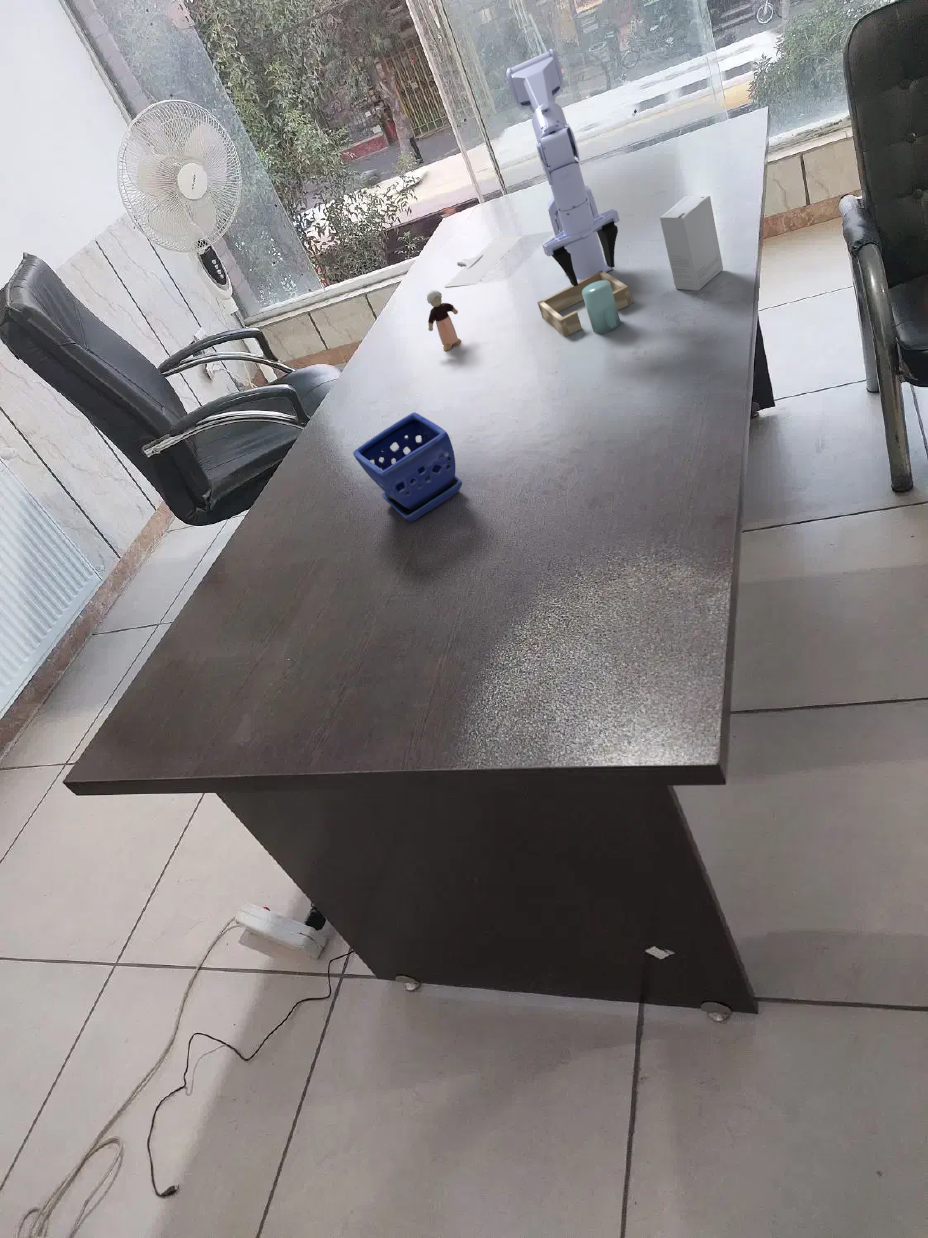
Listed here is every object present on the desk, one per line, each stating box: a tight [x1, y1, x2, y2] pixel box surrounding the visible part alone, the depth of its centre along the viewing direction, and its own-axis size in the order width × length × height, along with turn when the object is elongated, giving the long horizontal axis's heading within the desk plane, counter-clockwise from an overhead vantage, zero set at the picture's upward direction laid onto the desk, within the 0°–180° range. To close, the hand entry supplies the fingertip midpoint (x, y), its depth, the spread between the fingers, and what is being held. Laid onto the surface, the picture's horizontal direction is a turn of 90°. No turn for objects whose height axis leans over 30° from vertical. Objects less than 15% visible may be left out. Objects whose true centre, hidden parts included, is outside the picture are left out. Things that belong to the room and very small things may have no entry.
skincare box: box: [659, 195, 724, 292], centre depth 164 cm, size 8×6×15 cm
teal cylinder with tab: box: [582, 280, 621, 334], centre depth 166 cm, size 6×8×8 cm
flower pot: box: [352, 412, 463, 522], centre depth 144 cm, size 13×13×12 cm
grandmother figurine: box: [426, 289, 462, 352], centre depth 187 cm, size 8×4×13 cm, turn 131°
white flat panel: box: [444, 235, 524, 288], centre depth 220 cm, size 25×24×1 cm
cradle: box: [537, 270, 633, 338], centre depth 177 cm, size 14×15×4 cm
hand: (592, 275), depth 163 cm, fingers open, 7 cm apart
